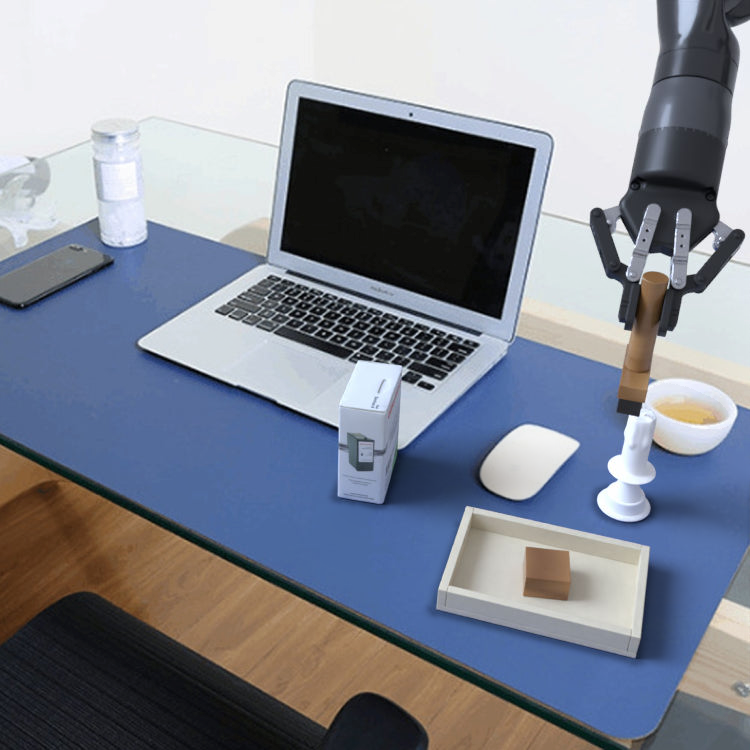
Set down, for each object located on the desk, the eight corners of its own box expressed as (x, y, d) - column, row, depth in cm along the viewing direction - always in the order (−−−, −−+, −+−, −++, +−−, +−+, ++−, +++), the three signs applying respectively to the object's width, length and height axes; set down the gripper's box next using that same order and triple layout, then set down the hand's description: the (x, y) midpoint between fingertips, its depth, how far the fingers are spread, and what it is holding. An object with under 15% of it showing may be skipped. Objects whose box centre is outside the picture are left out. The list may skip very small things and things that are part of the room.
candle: (661, 513, 101) (685, 418, 95) (619, 528, 99) (641, 433, 92) (627, 482, 105) (648, 388, 98) (586, 496, 103) (605, 402, 96)
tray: (645, 566, 95) (650, 546, 94) (635, 658, 86) (640, 638, 84) (464, 525, 99) (466, 505, 98) (436, 609, 90) (438, 589, 88)
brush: (648, 374, 94) (673, 260, 87) (641, 418, 88) (667, 299, 81) (622, 369, 94) (645, 256, 87) (613, 413, 88) (637, 294, 82)
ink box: (354, 446, 109) (357, 355, 102) (399, 454, 108) (404, 362, 101) (335, 498, 102) (336, 404, 95) (383, 506, 101) (388, 411, 94)
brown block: (565, 569, 94) (569, 550, 92) (567, 601, 90) (571, 582, 89) (522, 564, 94) (525, 546, 93) (522, 596, 91) (525, 577, 89)
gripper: (603, 113, 86) (563, 305, 83) (772, 135, 83) (736, 335, 80) (601, 150, 93) (564, 328, 90) (756, 171, 90) (723, 356, 87)
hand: (645, 330), depth 85 cm, fingers closed on brush, 2 cm apart
